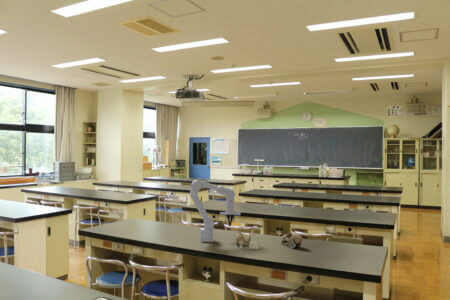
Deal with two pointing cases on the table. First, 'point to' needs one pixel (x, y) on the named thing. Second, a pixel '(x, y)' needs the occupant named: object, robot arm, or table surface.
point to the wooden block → (242, 239)
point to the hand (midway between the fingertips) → (230, 225)
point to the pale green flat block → (250, 245)
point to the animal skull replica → (292, 239)
